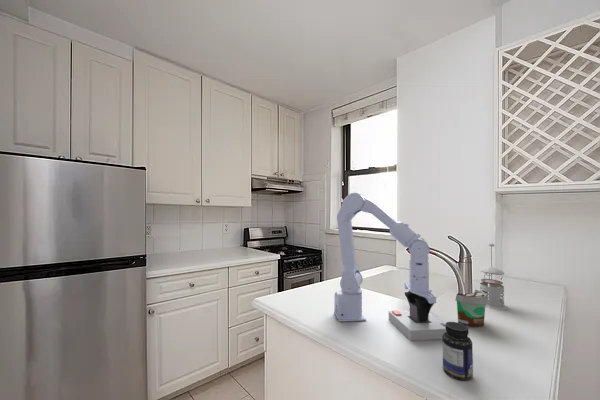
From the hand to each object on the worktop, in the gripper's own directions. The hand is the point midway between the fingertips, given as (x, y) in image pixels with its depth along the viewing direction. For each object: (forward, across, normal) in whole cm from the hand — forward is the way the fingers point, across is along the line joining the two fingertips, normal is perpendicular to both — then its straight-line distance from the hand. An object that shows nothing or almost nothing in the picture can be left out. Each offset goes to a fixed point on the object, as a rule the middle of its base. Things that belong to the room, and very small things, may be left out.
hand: (419, 317), depth 83 cm
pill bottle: (+4, -22, +4) cm, 23 cm away
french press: (+4, +17, -42) cm, 45 cm away
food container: (+4, +1, -21) cm, 21 cm away
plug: (+2, 0, 0) cm, 2 cm away
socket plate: (+3, 0, 0) cm, 3 cm away
